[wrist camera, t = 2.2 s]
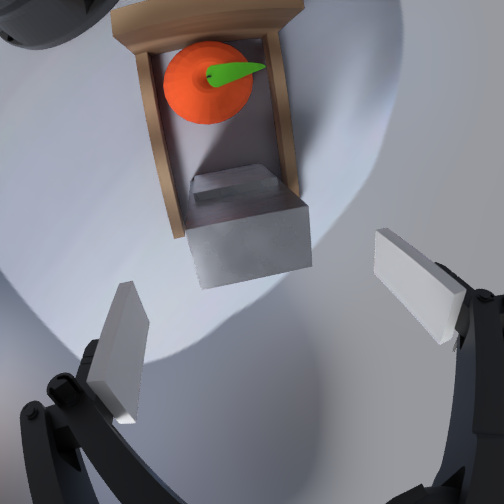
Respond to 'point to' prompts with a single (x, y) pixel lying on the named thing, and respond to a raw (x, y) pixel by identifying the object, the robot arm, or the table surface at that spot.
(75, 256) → the table surface
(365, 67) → the table surface
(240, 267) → the block
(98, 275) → the table surface
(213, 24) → the frame
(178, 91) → the clementine
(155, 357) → the table surface
